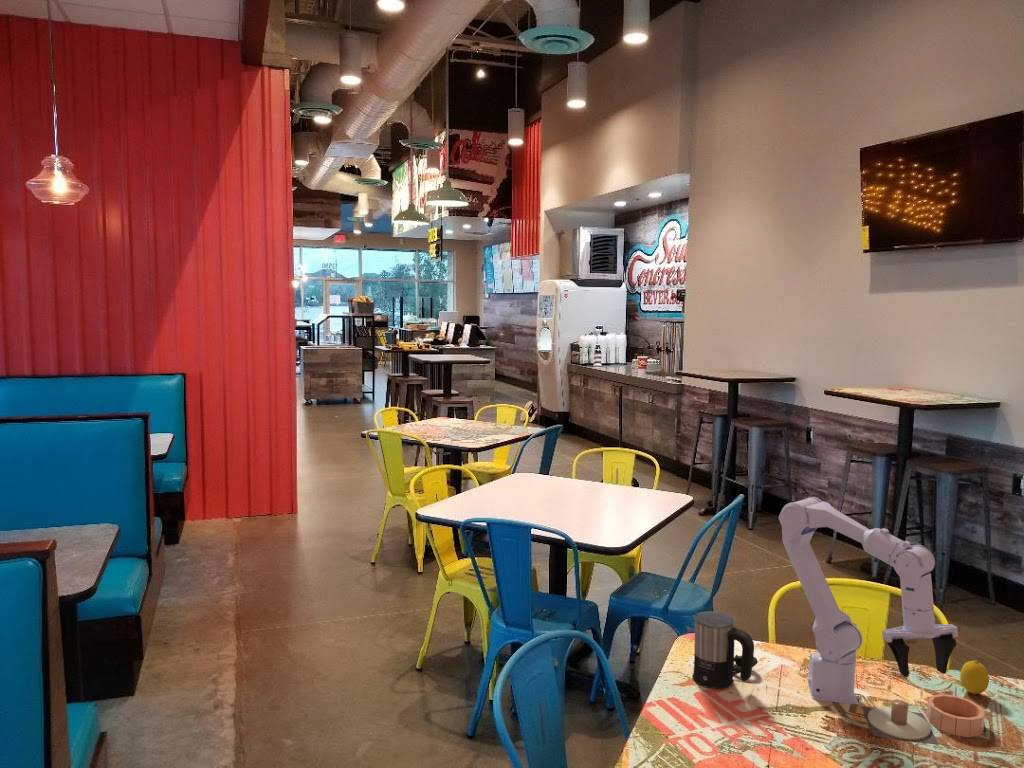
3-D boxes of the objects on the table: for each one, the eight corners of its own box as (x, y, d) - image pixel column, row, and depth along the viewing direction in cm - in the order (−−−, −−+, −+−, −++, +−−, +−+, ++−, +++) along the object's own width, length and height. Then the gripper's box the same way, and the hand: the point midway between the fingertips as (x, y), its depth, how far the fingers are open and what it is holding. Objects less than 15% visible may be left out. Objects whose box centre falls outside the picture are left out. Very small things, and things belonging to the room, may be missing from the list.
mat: (873, 737, 157) (873, 735, 157) (861, 707, 169) (861, 705, 169) (938, 746, 154) (939, 744, 154) (922, 715, 166) (922, 713, 166)
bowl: (935, 734, 158) (936, 715, 158) (921, 709, 168) (922, 691, 168) (989, 741, 156) (991, 722, 156) (973, 715, 166) (974, 697, 165)
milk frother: (688, 685, 178) (691, 622, 176) (697, 656, 193) (699, 598, 191) (754, 697, 173) (756, 632, 171) (758, 666, 188) (760, 606, 186)
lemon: (991, 702, 172) (994, 667, 171) (964, 699, 173) (966, 664, 172) (981, 690, 177) (984, 656, 176) (955, 687, 178) (957, 653, 177)
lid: (874, 735, 157) (875, 713, 157) (862, 706, 168) (864, 686, 168) (937, 743, 154) (939, 721, 154) (921, 713, 166) (923, 693, 165)
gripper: (892, 615, 155) (897, 684, 155) (964, 609, 155) (970, 678, 155) (875, 605, 162) (880, 671, 162) (944, 600, 162) (949, 665, 162)
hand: (923, 673), depth 159 cm, fingers open, 7 cm apart
